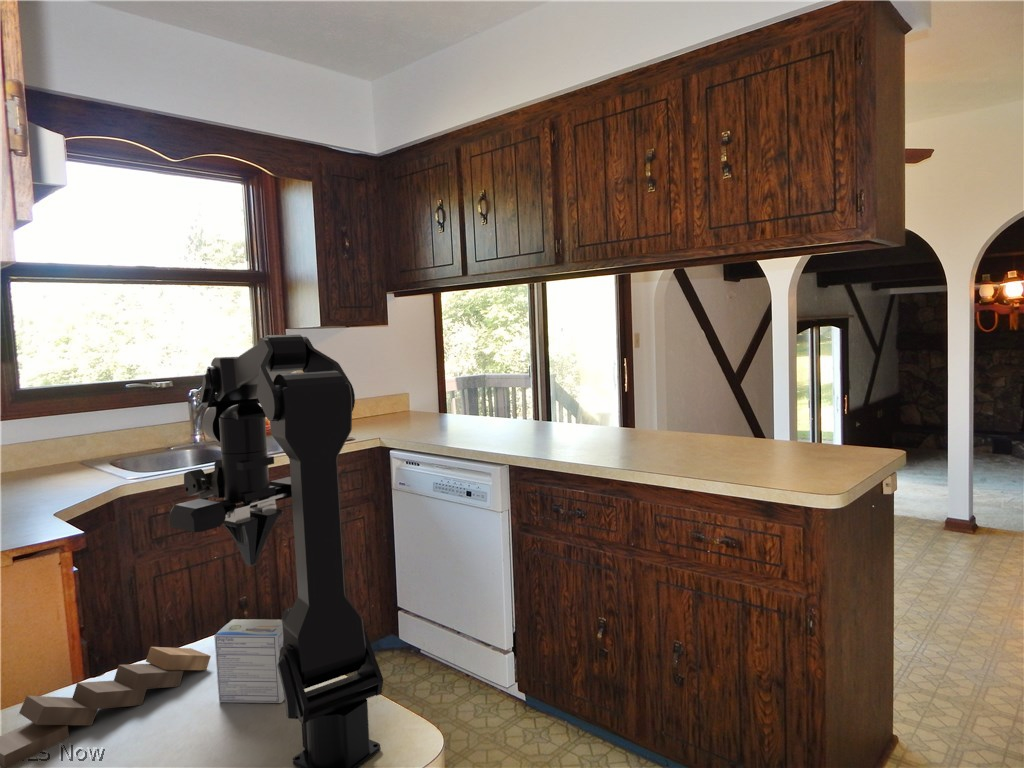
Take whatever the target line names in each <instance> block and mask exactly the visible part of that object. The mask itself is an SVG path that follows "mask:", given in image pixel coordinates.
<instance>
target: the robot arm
mask: <svg viewBox="0 0 1024 768" xmlns="http://www.w3.org/2000/svg"><path fill="white" fill-rule="evenodd" d="M297 371H302V372H297ZM355 396H356V395H355V389H354V387H353V385H352V383H351V381H350V379H349V378H348V376H347V375H346V373H345V371H344V370H343V368H342V366H341V365H340V363H339V362H338V361H336V360H335V359H333V358H331V357H330V356H328V355H326V354H325V353H323V352H322V351H320V350H318V349H316V348H315V347H314V345H313V344H312V342H311V340H310V339H309V337H307V336H302V335H301V334H271V335H268V334H267V335H265V336H264V337H260V338H259V339H258V341H257V343H256V344H255V345H254V346H252V347H250V348H249V349H248V350H246V351H244V352H243V353H241V354H240V355H238V356H221V357H214V358H213V359H212V360H211V363H210V366H207V368H206V372H205V374H204V376H203V377H202V383H201V388H200V393H199V399H200V403H201V404H202V406H203V408H207V410H206V411H205V413H204V415H203V417H202V420H201V425H202V430H203V431H204V433H205V435H206V436H207V437H208V438H209V439H211V440H213V441H215V442H217V443H219V444H220V454H221V455H220V456H221V457H220V458H216V459H215V462H214V470H213V471H210V472H206V473H205V472H204V470H203V469H202V468H198V469H197V468H196V469H193V470H188V471H187V472H184V473H183V486H184V491H185V494H186V495H187V496H188V497H191V496H193V497H194V496H196V495H198V497H199V498H197V499H192V500H189V501H185V502H180V503H176V504H174V505H173V507H172V508H171V510H170V512H169V526H170V528H173V529H178V530H181V531H182V530H183V531H186V532H191V533H201V532H205V531H210V530H213V529H216V528H220V527H222V526H224V527H225V528H226V529H227V530H228V532H229V533H230V535H231V536H232V538H233V540H234V542H235V545H236V546H237V549H238V551H239V552H240V555H241V557H242V558H243V561H244V563H245V565H246V566H249V567H252V566H255V565H256V564H257V562H258V560H259V558H260V555H261V553H262V551H263V549H264V545H265V544H266V541H267V539H268V537H269V535H270V534H271V530H272V529H273V527H274V525H275V523H276V522H277V520H278V518H279V517H280V516H281V515H283V514H284V510H283V509H279V508H277V504H276V502H278V501H281V500H285V499H288V498H291V501H292V502H291V504H292V505H291V506H292V519H293V522H292V523H293V535H294V552H295V570H296V583H297V585H296V587H297V597H296V599H295V602H294V603H293V605H292V607H288V608H285V609H284V610H283V613H282V617H281V620H282V626H283V647H281V649H280V657H279V662H278V665H277V666H278V671H279V675H280V679H281V683H282V687H283V692H284V697H285V699H284V701H285V711H286V717H287V718H288V719H293V720H294V719H295V720H299V722H300V723H301V735H302V736H301V737H302V747H303V748H304V750H302V751H301V752H300V753H298V754H297V755H294V757H293V758H292V764H293V766H295V767H298V768H360V766H362V765H363V764H364V763H366V762H368V760H369V759H371V758H372V757H373V756H375V755H376V754H378V752H380V751H381V749H382V748H381V744H380V743H379V742H377V741H375V740H372V739H370V733H369V732H370V731H369V730H370V729H369V726H370V725H369V709H368V708H369V705H368V699H370V698H372V697H374V696H375V697H376V696H380V695H382V692H383V686H384V677H383V673H382V672H381V670H380V666H379V664H378V661H377V658H376V656H375V653H374V651H373V648H372V647H373V646H372V645H371V643H370V639H369V636H368V634H367V631H366V628H365V627H364V619H363V616H362V615H361V614H360V613H359V612H358V610H357V609H356V608H355V605H353V603H352V602H351V601H350V600H349V598H348V597H347V596H346V595H347V594H346V585H345V571H344V570H345V569H344V552H343V534H342V533H343V532H342V518H341V517H342V515H341V500H340V499H341V498H340V483H339V482H340V481H339V465H338V456H339V455H340V453H341V451H342V449H343V448H344V445H345V444H346V442H347V440H348V438H349V436H350V435H351V433H352V429H353V411H354V408H355V403H356V397H355ZM266 419H267V421H269V424H270V425H269V427H270V434H271V436H272V437H273V439H274V440H275V442H276V443H277V444H278V445H279V447H280V448H281V450H282V451H283V452H284V453H285V455H286V456H287V458H288V459H289V471H290V473H289V474H290V476H286V477H282V478H278V479H274V480H271V481H270V479H269V477H270V476H269V466H271V465H275V457H274V456H273V455H268V444H267V440H268V439H267V426H266V425H267V423H266ZM210 498H211V499H212V498H213V499H218V500H219V499H223V500H219V501H214V500H209V499H210ZM355 672H356V673H355ZM351 673H355V674H352V675H349V676H347V677H344V678H341V679H338V678H340V677H343V676H346V675H348V674H351ZM335 679H338V680H335ZM332 680H335V681H332ZM329 681H332V682H330V683H327V684H324V685H321V686H319V687H315V686H317V685H320V684H323V683H325V682H329ZM311 687H315V688H313V689H309V690H307V691H306V689H308V688H311Z"/></svg>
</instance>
